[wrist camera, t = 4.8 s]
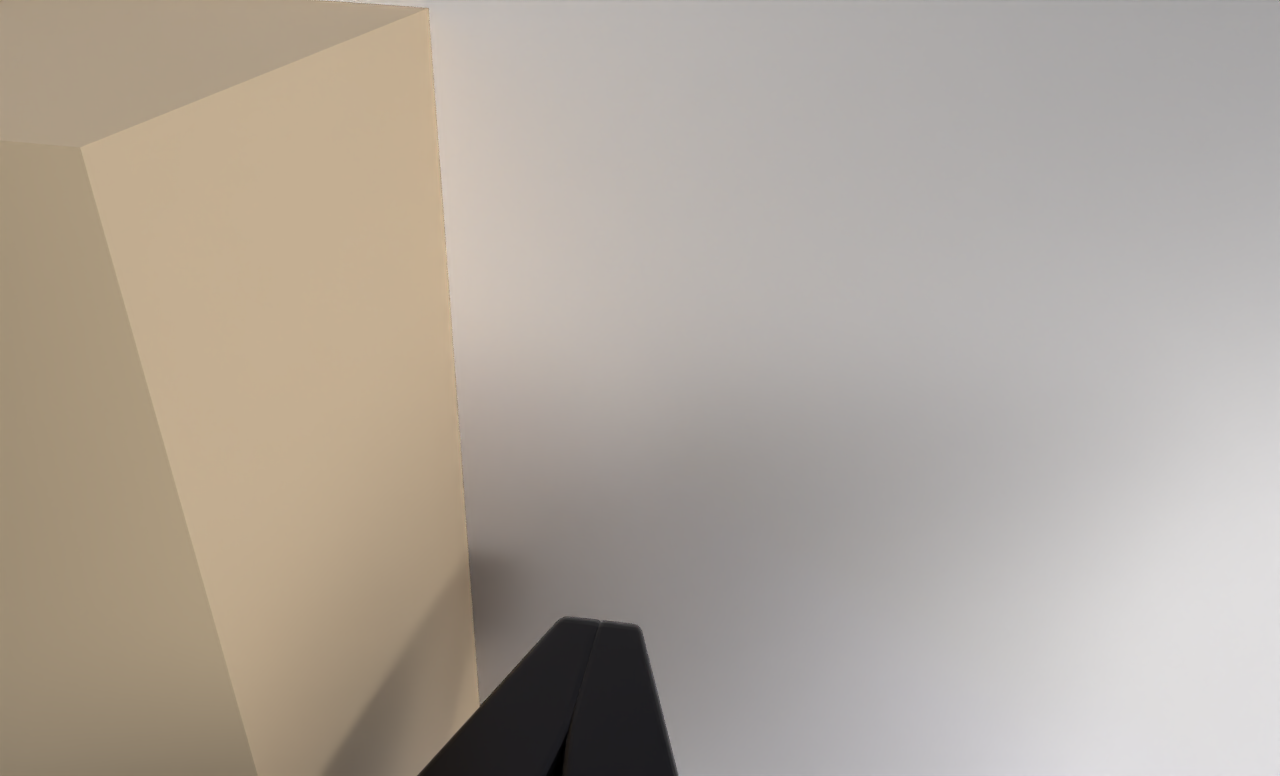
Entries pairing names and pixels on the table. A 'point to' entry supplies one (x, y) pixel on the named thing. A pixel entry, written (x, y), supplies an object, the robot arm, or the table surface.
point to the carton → (226, 394)
